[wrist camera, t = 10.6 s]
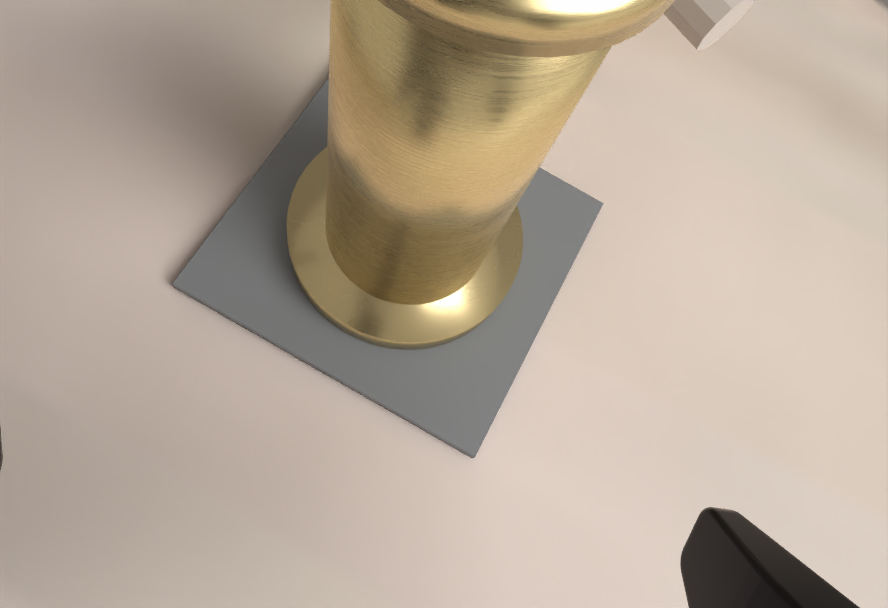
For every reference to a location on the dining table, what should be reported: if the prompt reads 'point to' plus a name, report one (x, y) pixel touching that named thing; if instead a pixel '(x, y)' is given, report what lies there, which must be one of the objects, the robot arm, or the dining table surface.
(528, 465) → the dining table surface
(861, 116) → the dining table surface
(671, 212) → the dining table surface
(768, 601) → the robot arm
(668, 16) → the pipe connector
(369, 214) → the brass pedestal cup
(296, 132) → the mat
